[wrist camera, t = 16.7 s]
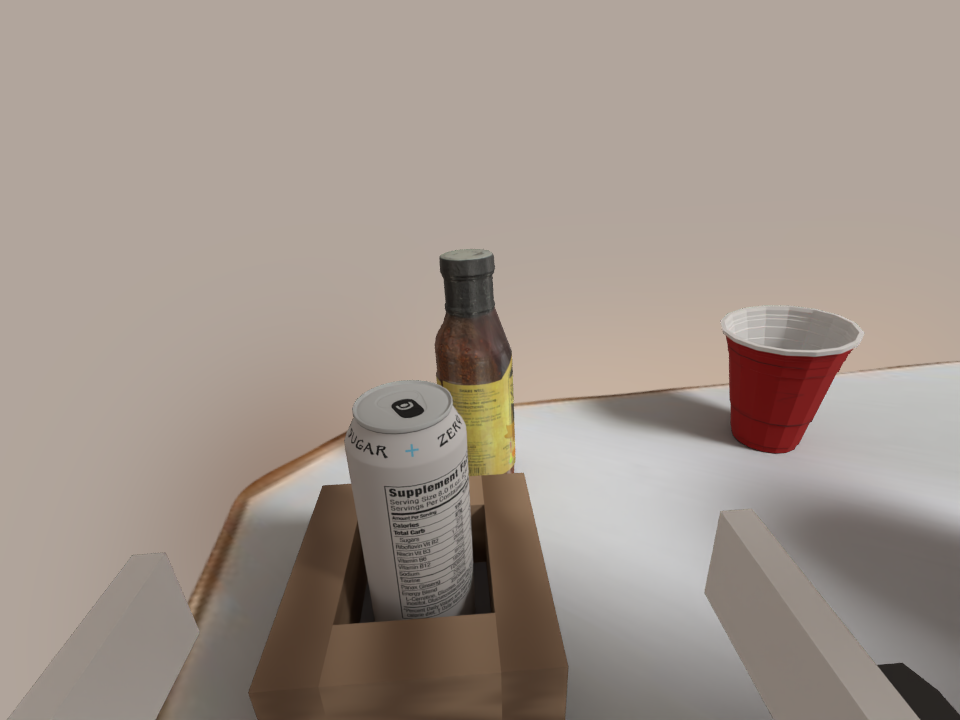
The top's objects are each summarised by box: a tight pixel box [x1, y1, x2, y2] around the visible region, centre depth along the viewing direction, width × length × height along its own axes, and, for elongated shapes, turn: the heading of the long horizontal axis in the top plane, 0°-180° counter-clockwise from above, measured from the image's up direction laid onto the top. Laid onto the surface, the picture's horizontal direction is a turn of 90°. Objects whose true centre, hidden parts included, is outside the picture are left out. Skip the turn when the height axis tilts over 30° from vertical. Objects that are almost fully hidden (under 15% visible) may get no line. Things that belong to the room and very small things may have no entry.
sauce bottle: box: [435, 249, 515, 476], centre depth 40 cm, size 6×6×20 cm
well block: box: [248, 473, 568, 720], centre depth 29 cm, size 14×14×6 cm
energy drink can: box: [344, 380, 475, 622], centre depth 27 cm, size 6×6×15 cm
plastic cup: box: [721, 305, 864, 453], centre depth 46 cm, size 11×11×12 cm
